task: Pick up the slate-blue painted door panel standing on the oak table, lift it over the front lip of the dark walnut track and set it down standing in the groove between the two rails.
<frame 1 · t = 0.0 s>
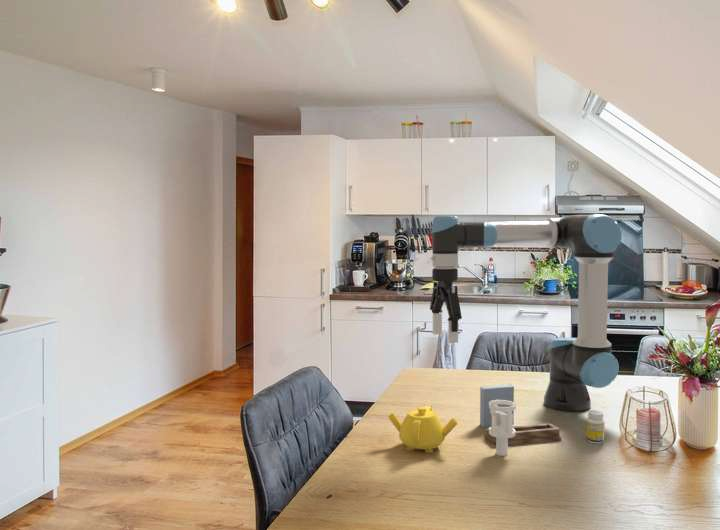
hand: (444, 338, 185), 28 cm above the table, fingers open, 13 cm apart
teapot: (422, 447, 173), on the table
strainer: (501, 454, 168), on the table
supplement bottle: (595, 441, 176), on the table
door panel: (496, 424, 191), on the table
track: (522, 438, 179), on the table
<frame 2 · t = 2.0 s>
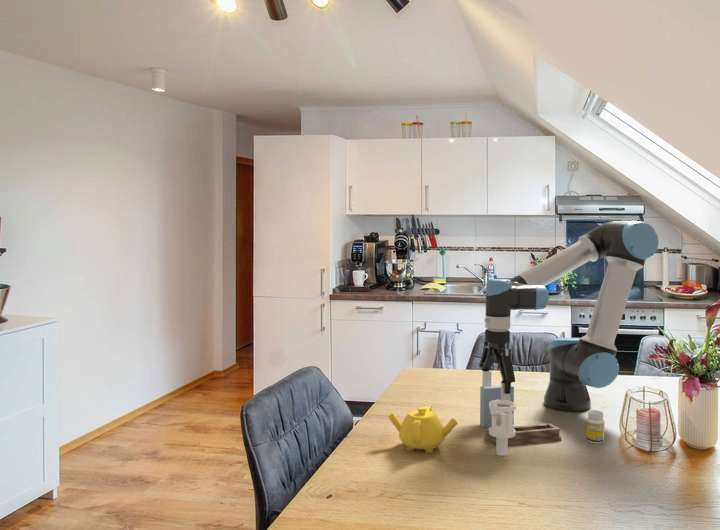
hand: (495, 397, 191), 9 cm above the table, fingers open, 13 cm apart
nothing on the table moved.
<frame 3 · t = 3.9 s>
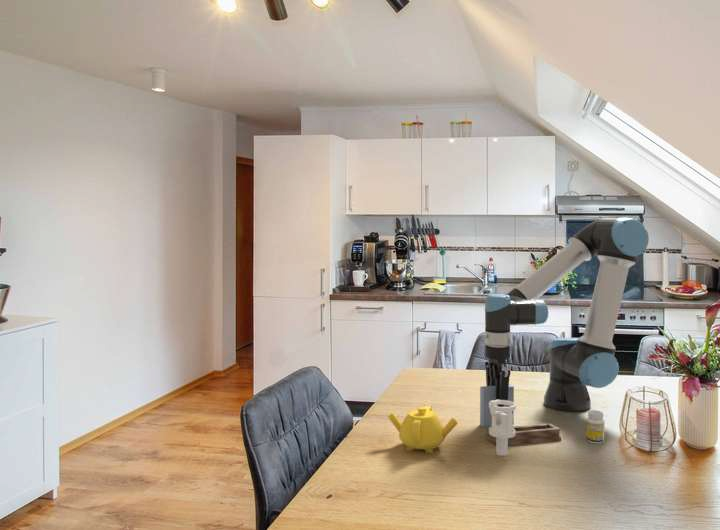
hand: (496, 419, 191), 2 cm above the table, fingers closed on door panel, 2 cm apart
door panel: (496, 424, 191), on the table, touching gripper
everything else where it was.
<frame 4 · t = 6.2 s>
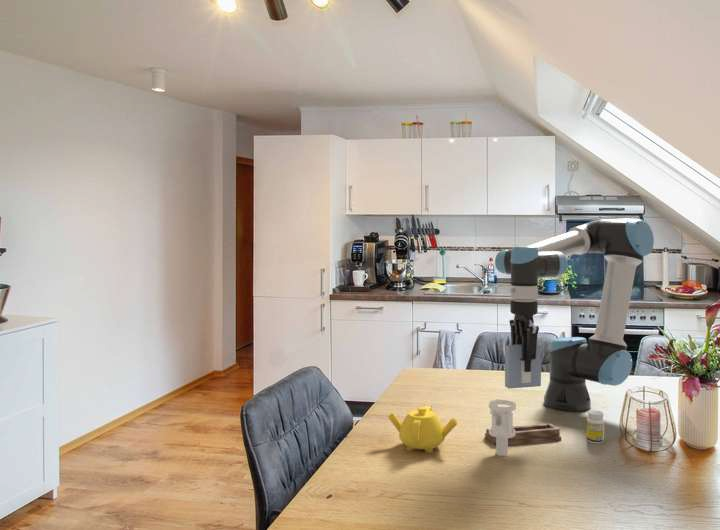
hand: (523, 380, 178), 17 cm above the table, fingers closed on door panel, 2 cm apart
door panel: (522, 386, 178), point 15 cm above the table, touching gripper
everything else where it was.
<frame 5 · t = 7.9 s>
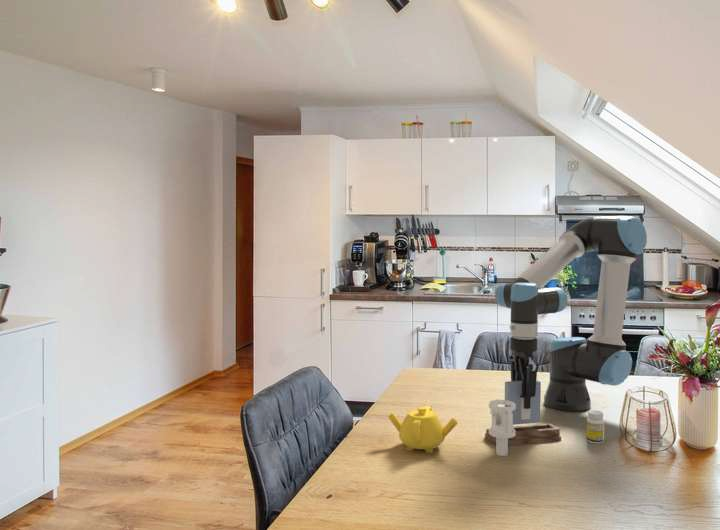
hand: (522, 417, 179), 6 cm above the table, fingers closed on door panel, 2 cm apart
door panel: (522, 422, 179), point 5 cm above the table, touching gripper
everything else where it was.
when the fingers open (4 cm above the table, at t = 8.9 s): door panel drops 2 cm, resting on track.
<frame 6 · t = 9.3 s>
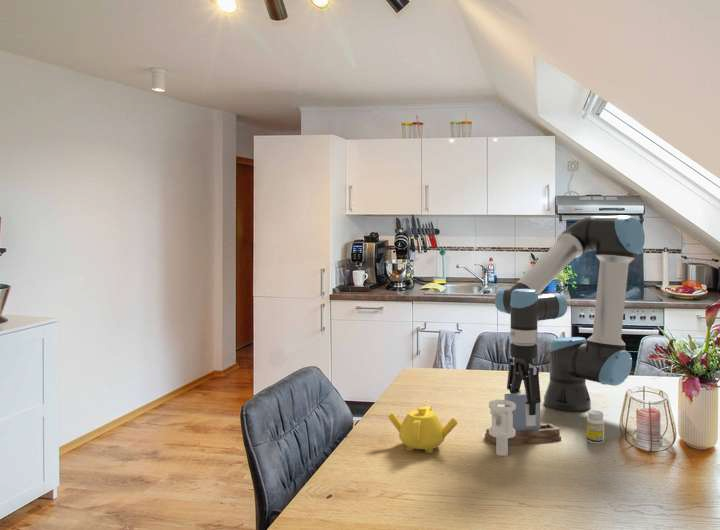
hand: (522, 420, 179), 5 cm above the table, fingers open, 8 cm apart
door panel: (522, 434, 179), point 1 cm above the table, touching track
everything else where it was.
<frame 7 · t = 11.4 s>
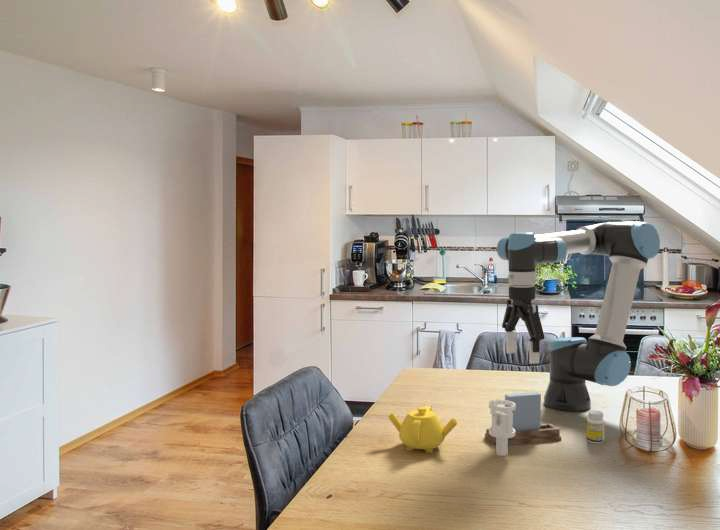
hand: (522, 357, 181), 23 cm above the table, fingers open, 13 cm apart
nothing on the table moved.
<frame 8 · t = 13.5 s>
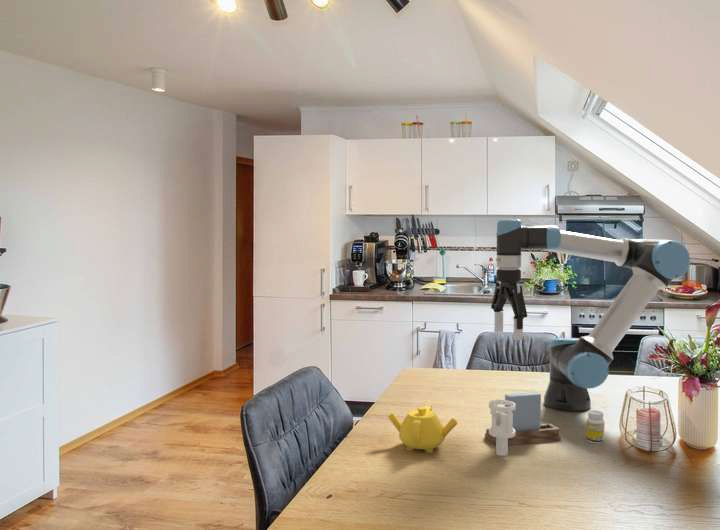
hand: (508, 335, 196), 27 cm above the table, fingers open, 13 cm apart
nothing on the table moved.
at the end: door panel inside the target area on the track (0.0 cm from its centre), point 1.0 cm above the track's base; door panel tilted 0°; the gripper is holding nothing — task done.
